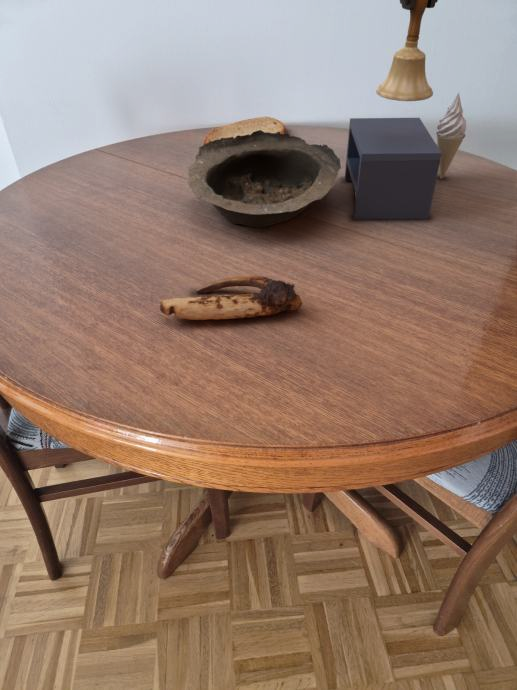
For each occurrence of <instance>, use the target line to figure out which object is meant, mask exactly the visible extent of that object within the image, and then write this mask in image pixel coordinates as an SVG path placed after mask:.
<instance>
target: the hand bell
mask: <svg viewBox="0 0 517 690" xmlns="http://www.w3.org/2000/svg"><path fill="white" fill-rule="evenodd" d="M427 3H428V0H416V2H415V7H414V9H413V10H409V23H408V28H407V35H406V38H405V39H406V40H405V44H404V47H402V48H401V49H399V50H397V51H396V52H395V53H394V54H393V58H392V61H391V66H390V69H389V71H388V73H387V76H386V78H385V79H384V80H383V82H382V83H380V85H378V87H377V89H376V90H375V92H376V94H377V95H378V96H379V97H381V98H384V99H386V100H391V101H392V100H393V101H397V102H418V101H425V100H428V99H430V98H431V97H433V95H434V90H433V89H432V87H431V86H430V84H429V82H428V79H427V76H426V75H427V73H426V59H427V58H426V53H425V52H424V51H422V50H420V48H419V47H418V46H419V45H418V43H419V40H420V32H421V26H422V19H423V16H424V13H425V11H426V9H427V8H426V6H427Z"/></svg>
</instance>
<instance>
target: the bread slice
mask: <svg viewBox="0 0 517 690" xmlns="http://www.w3.org/2000/svg"><path fill="white" fill-rule="evenodd" d="M259 130H261V131H263V132H265V133H266V132H269V133H277V132H280V134H286V133H287V128H286V125H285V124H284V123H283V122H282V121H281V120H278V119H276V118H275V117H271V116H260V117H253V118H247V119H243V120H239V121H235V122H233V123H232V122H231V123H229V124H224V125H222V126H217V127H214V128H212V129H211V131H209V132H208V134H207V135H206V136H205V138H204V141H203V143H202V144H203V145H205V144H207V143H208V142H210V141H214V140H220V139H221V138H228V137H234V138H235V137H236V136H238V135H239V136H244V135H248V134H249V135H251V134H252V133H253V132H255V131H259ZM203 145H202V146H203Z"/></svg>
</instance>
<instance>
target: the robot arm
mask: <svg viewBox="0 0 517 690" xmlns="http://www.w3.org/2000/svg"><path fill="white" fill-rule="evenodd" d="M438 1H439V0H428V3H427V6H426V9H434V8H435V6H436V3H438ZM415 2H416V0H399V4H401V8H402V10H403V9H404V10H405V11H410V10H413V9H414V7H415Z"/></svg>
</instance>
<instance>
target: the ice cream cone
mask: <svg viewBox="0 0 517 690" xmlns="http://www.w3.org/2000/svg"><path fill="white" fill-rule="evenodd" d="M463 113H464V109H463V106H462V102H461V96H460V93H459V92H458V93H457V95H456V97H455V98H454V100H453V101H452V103H451V104H450V106H448V108H447V111H446V113H445V115H444V116H443V117H441V118H440V119H439V121H438V122H439V123H438V124H437V125H436V127H437V129H436V130H437V131H436V132H435V133H436V134H435V135H436V142H437V143H436V144H437V147H438V148H439V150H440V151H441V153H442V154H441V158H440V164H439V169H438V170H439V178H440V179H444V177H445V174H446V173H447V171H448V169H449V168H450V165H451V164H452V162H453V160H454V158H455V156H456V154H457V152H458V150H459V149H460V147H461V145H462V143H463V140H464V139H465V138H466V136H467V135H466V130H467V120H466V118H465V117H464V115H463Z"/></svg>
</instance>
